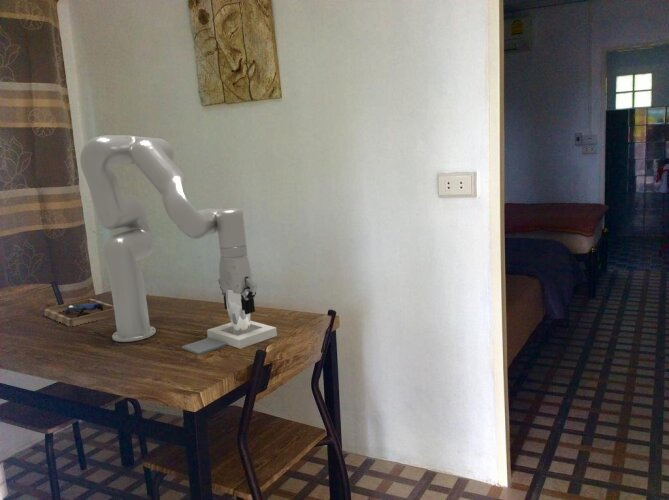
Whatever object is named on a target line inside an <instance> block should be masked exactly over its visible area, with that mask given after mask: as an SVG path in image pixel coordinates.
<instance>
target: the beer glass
mask: <svg viewBox="0 0 669 500" xmlns="http://www.w3.org/2000/svg"><path fill="white" fill-rule="evenodd" d="M244 289H247V288H244ZM246 294H247V295H248V292H246ZM244 300H245V299H244V297H243V295H242V294H241V293H240V294H235V293H233V290H230V289H226V304H227V309H226V310H227V313H228V317H229V320H230V323H231V324H232V334H233V335H237V336H239V335H242V334H245V333H248V332H251V327H250V321H251V314H252V313H250V314H245V311H244Z"/></svg>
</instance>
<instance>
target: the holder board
mask: <svg viewBox="0 0 669 500" xmlns="http://www.w3.org/2000/svg"><path fill="white" fill-rule="evenodd" d="M250 327H251V332H248V333H245V334H242V335H239V336H237V335H233V334H232V324H231V322H228V323H225V324H221V325H218V326H215V327H211V328H208V329H206V331H207V332H206V334H207V338H212V339H215V340H218V341H221V342H224V343H227V346H231V347H232V348H233V347H234V348H237V349H240V350H242V349H244V348H247V347H249V346H253V345H255V344H258V343H260V342H263V341H267V340H270V339H272V338H275V337H277V336H278V333H277V327H275V326H271V325H269V324H268V325H267V324H265V323H261V322H257V321H253V320H250Z"/></svg>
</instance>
